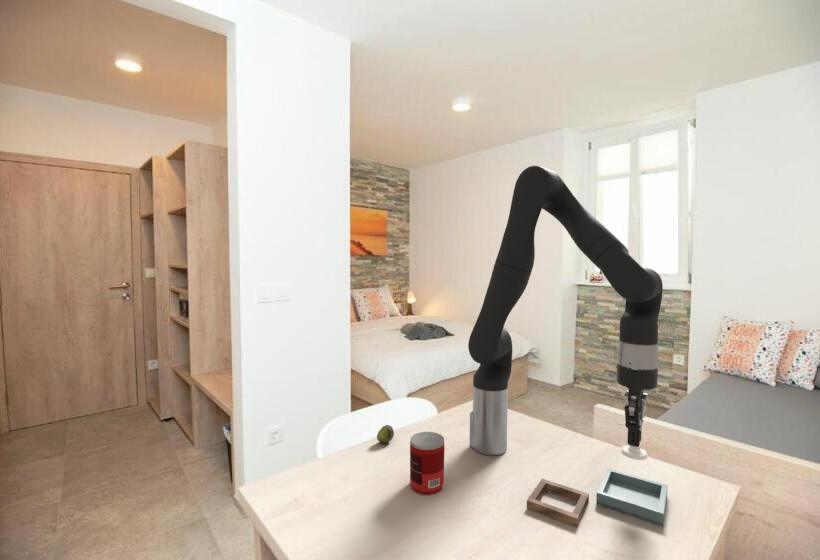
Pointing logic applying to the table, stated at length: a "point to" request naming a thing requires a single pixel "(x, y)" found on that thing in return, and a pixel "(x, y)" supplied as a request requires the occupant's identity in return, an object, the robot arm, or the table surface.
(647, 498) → the tray
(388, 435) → the lime
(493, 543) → the table surface
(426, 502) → the table surface
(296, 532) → the table surface
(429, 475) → the canned food
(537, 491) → the collar
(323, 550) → the table surface
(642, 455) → the chess piece
